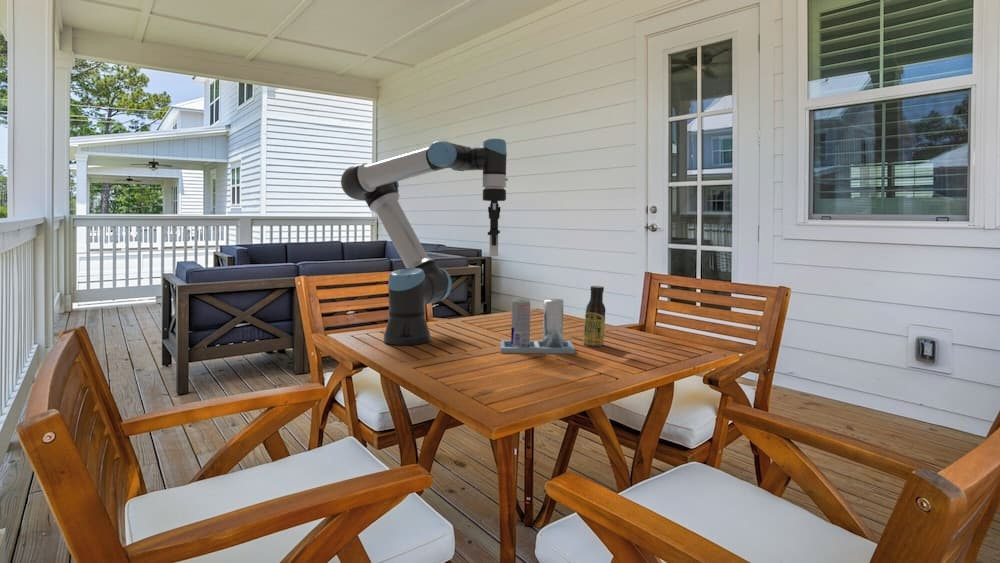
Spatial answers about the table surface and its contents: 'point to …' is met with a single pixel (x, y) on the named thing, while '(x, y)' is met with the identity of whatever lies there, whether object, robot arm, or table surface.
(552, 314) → the twin can
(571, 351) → the divided tray
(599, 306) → the sauce bottle
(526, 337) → the beverage can
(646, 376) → the table surface
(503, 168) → the robot arm
